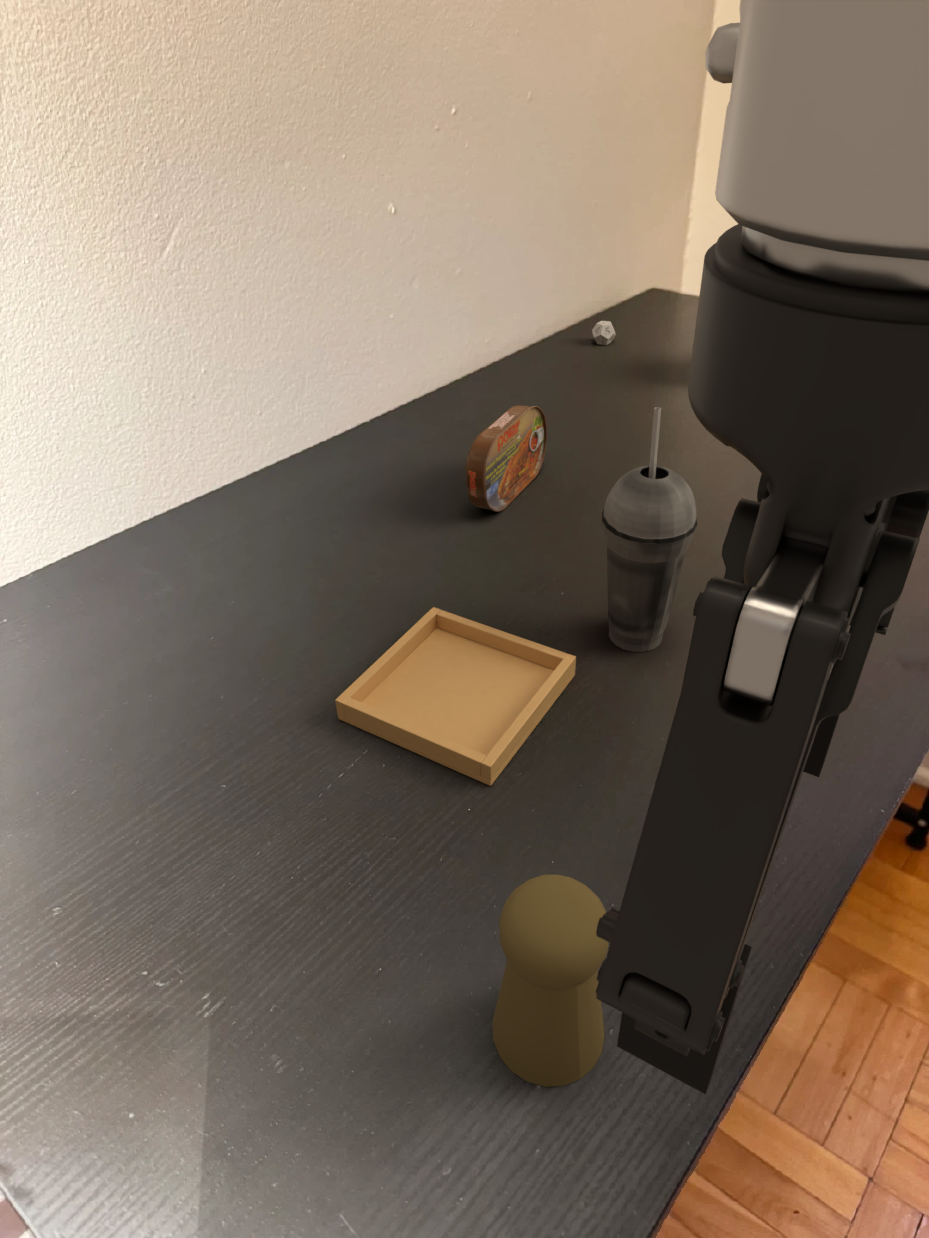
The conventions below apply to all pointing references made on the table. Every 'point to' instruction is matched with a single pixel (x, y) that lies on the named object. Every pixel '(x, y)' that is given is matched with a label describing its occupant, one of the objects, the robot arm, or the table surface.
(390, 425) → the table surface
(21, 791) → the table surface
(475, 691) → the serving tray
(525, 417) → the tin
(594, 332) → the game die
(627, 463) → the table surface
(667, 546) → the beverage cup
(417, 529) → the table surface
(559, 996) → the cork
